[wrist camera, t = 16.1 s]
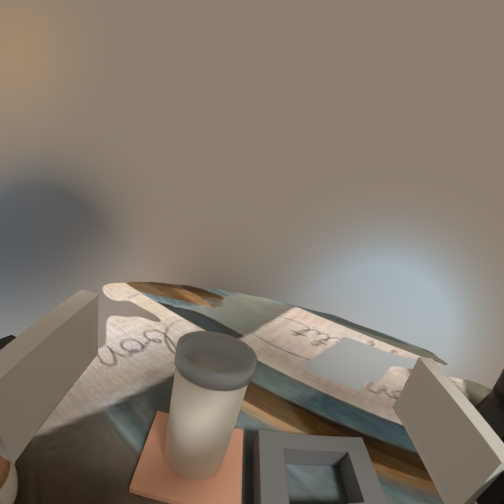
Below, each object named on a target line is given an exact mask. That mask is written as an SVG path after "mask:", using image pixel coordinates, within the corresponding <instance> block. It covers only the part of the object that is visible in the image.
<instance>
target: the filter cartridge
mask: <svg viewBox="0 0 504 504" xmlns="http://www.w3.org/2000/svg"><path fill="white" fill-rule="evenodd" d="M256 364H257V356H256V354H255V352H254V351H253V349H252V348H251V347H249V346H248V345H247V344H246V343H244V342H242V341H241V340H239V339H237V338H234V337H232V336H229V335H226V334H222V333H217V332H211V331H197V332H191V333H188V334H185V335H183V336H182V337H181V338H180V339H179V340H178V343H177V348H176V354H175V366H176V369H175V376H174V382H173V389H172V396H171V403H170V410H169V418H168V426H167V434H166V442H165V450H164V459H165V462H166V464H167V466H168V467H169V468H170V469H171V470H172V471H173V472H174V473H175V474H177V475H179V476H181V477H183V478H186V479H190V480H205V479H209V478H211V477H213V476H215V475H216V474H217V473H218V472H219V470H220V469H221V466H222V463H223V460H224V457H225V454H226V451H227V448H228V445H229V442H230V439H231V436H232V433H233V430H234V427H235V424H236V420H237V417H238V414H239V411H240V408H241V405H242V402H243V398H244V395H245V392H246V389H247V385H248V384H249V383H250V381H251V380H252V377H253V374H254V371H255V368H256Z"/></svg>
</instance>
